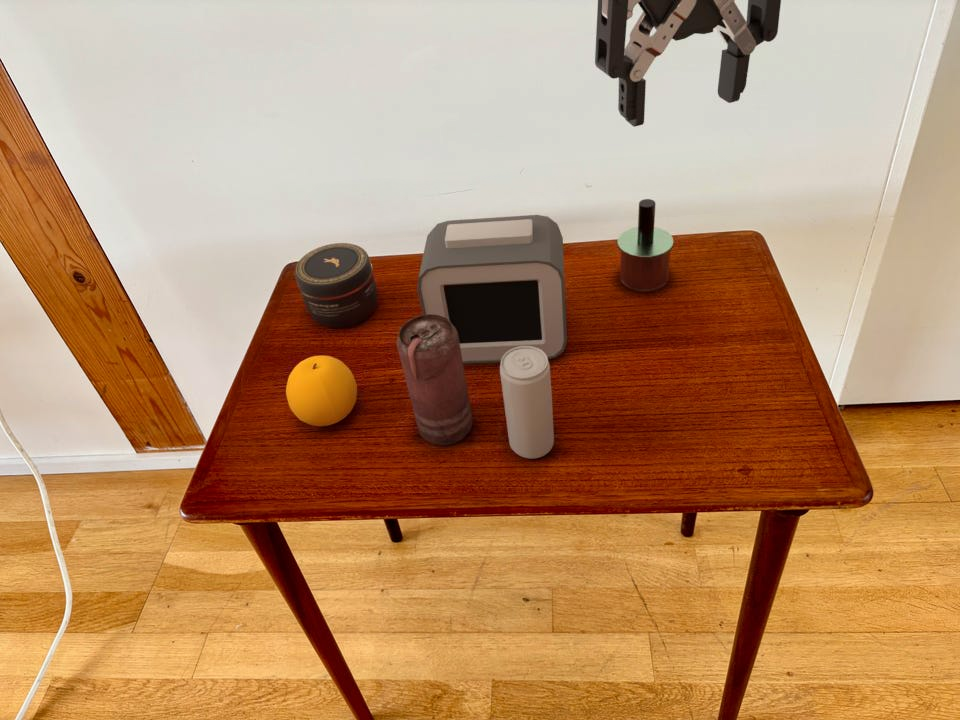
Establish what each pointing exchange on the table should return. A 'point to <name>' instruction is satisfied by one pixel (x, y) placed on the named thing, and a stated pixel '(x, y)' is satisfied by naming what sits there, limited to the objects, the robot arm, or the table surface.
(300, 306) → the table surface
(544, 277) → the alarm clock
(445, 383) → the can
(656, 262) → the pot
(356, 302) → the jar
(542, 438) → the beverage can
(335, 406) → the orange
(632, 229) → the lid
